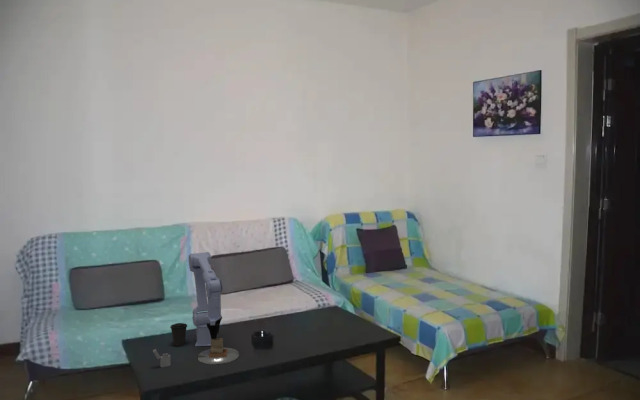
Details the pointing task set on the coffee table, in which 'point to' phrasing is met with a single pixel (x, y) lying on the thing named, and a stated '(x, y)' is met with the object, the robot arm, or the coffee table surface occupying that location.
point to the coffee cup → (178, 333)
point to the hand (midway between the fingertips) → (214, 335)
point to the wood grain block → (217, 345)
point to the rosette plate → (218, 356)
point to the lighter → (163, 359)
